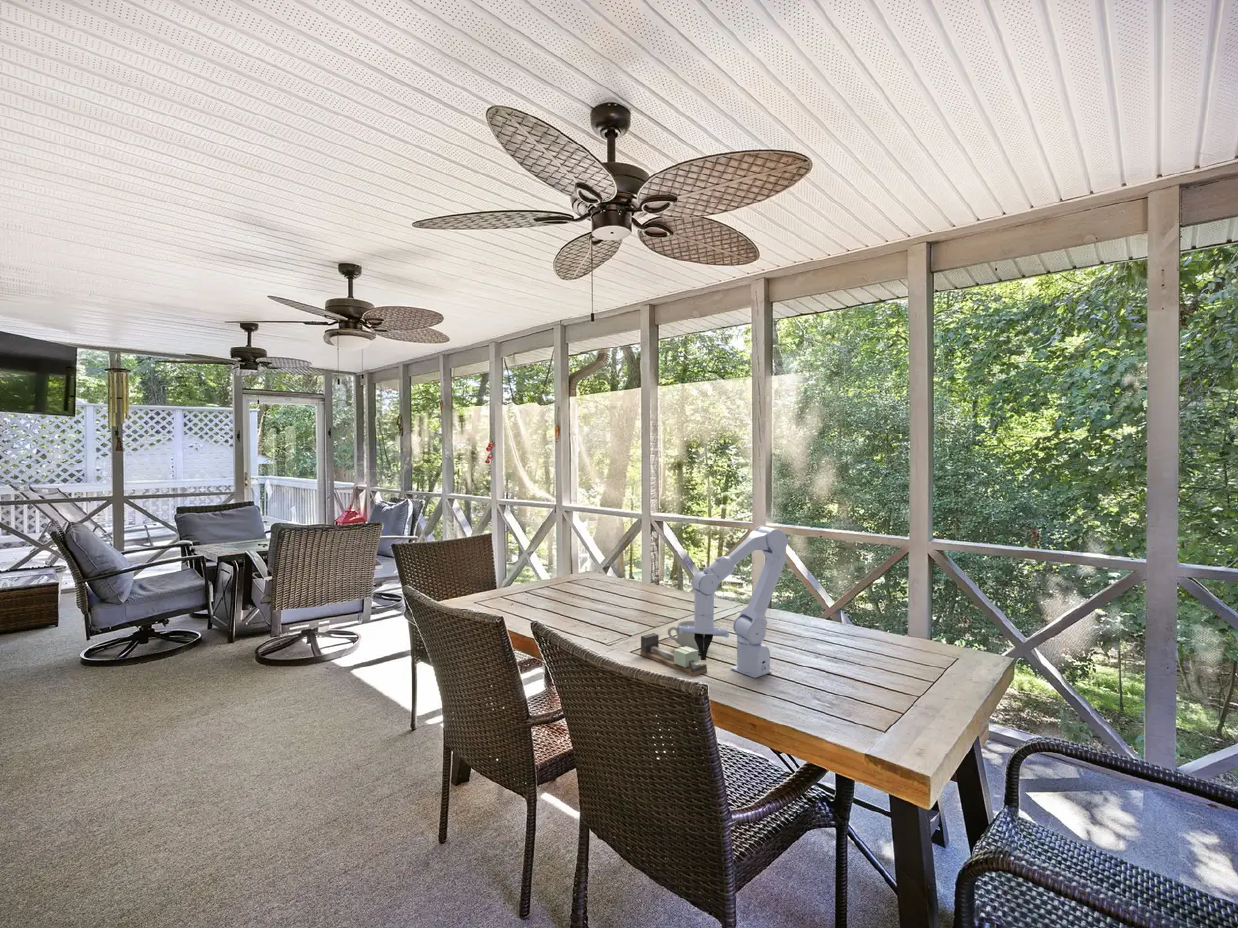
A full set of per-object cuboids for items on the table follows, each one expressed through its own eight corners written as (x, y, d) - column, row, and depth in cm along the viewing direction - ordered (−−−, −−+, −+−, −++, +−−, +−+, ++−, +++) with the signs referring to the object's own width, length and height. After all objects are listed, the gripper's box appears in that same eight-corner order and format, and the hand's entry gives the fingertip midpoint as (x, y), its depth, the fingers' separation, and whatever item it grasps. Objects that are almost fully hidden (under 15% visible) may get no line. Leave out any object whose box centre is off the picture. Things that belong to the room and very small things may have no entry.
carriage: (697, 663, 177) (698, 649, 177) (685, 667, 174) (685, 653, 174) (686, 659, 181) (686, 645, 181) (673, 662, 178) (673, 648, 178)
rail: (707, 671, 175) (707, 651, 175) (692, 676, 171) (693, 655, 171) (654, 650, 194) (654, 632, 194) (640, 654, 190) (640, 636, 190)
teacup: (708, 643, 201) (708, 621, 201) (709, 654, 190) (709, 630, 190) (667, 642, 203) (667, 619, 203) (667, 652, 192) (667, 628, 192)
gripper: (729, 611, 174) (729, 656, 174) (681, 608, 177) (680, 652, 177) (728, 617, 167) (727, 664, 167) (678, 614, 170) (677, 660, 170)
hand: (703, 659), depth 172 cm, fingers closed
